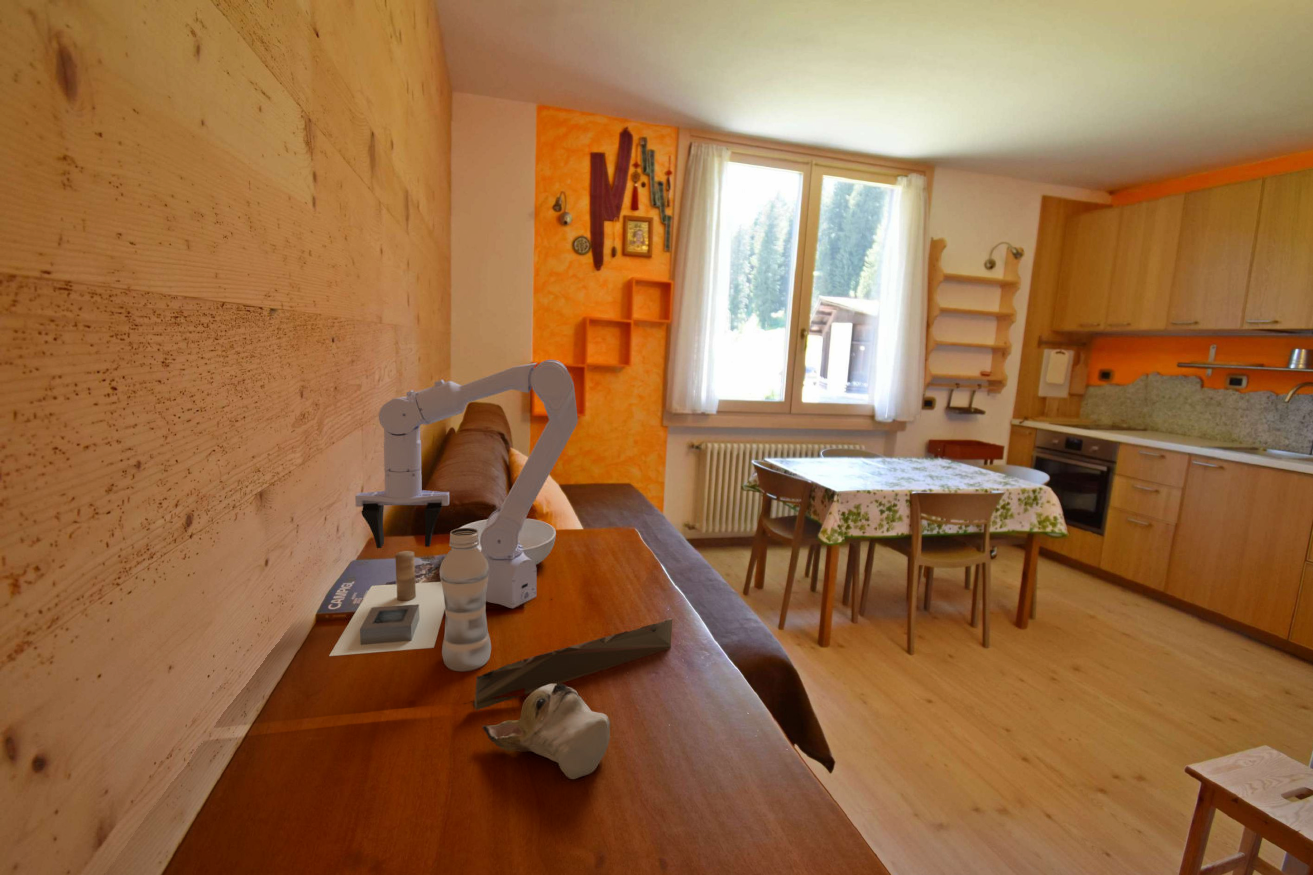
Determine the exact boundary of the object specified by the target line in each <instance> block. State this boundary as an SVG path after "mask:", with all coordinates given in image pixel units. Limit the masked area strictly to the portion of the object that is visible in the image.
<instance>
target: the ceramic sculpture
mask: <svg viewBox="0 0 1313 875" xmlns="http://www.w3.org/2000/svg"><path fill="white" fill-rule="evenodd" d="M481 727H482V729H483V731H484V732H485V734H486V735H487V737H488V739H489V740H490V741H491V742H492V743H493V744H494V745H496V746H497V747H498V748H500V749H502V750H504V751H509V752H533V753H534V754H537V755H539V756H542V757H544V758H546V759H547V758H548V759H549V760H551V761H553V762H556V763H557V764H558V766H559V769H560V770H561V772H563V774H564V775H565V776H566V777H567V778H568V779H571V780H575V779H578V778H581V777H585V776H588V775H590V774H592V773H593V772H594V771H595V770H596V769H597V768H598V765H599V764H600V762H601V761H602V759H603V758H604V757H605V753H606V751H607V749H608V747H609V742H610V739H611V738H610V737H611V734H610V733H611V732H610V731H611V730H610V729H611V728H610V727H611V722H610V719H609V717H608V715H607V714H605V713H603V712H597V711H593V710H591V708H590V707H589V706H588V705H587V704H586V702H585V701H584V699H583V698H582V697H581V696H580V695H579V693H578V692H577V690H576V689H574V688H573V687H571V686H570V687H569V686H567V685H566V684H563V683H560V684H548V685H546V686H543V687H540V688H539V689H537V690H535V691H534V692H531V693H529V694H528V696H527V697H526V699H524V701H523V703H522V706H521V711H520V716H519V719H517V720H510V719H508V720H505V721H502V722H500V723H498V724H493V725H492V724H491V725H488V724H485V725H482V726H481Z"/></svg>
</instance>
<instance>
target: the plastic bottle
mask: <svg viewBox="0 0 1313 875" xmlns="http://www.w3.org/2000/svg"><path fill="white" fill-rule="evenodd" d="M448 545H449V547H450V548H451V549H450V550H449V551H448V553H447V554H446V555H445V556H444V558H443V560H442V561H441V563H440V567H439V578H440V582H441V584H442V589H443V594H444V603H445V610H444V614H445V618H444V619H445V622H444V623H445V624H444V637H443V641H442V649H441V656H442V660H443V664H444V665H445V666H446V667H447V668H448V669H449V670H451V671H453V672H454V671H455V672H471V671H475V670H478V669H479V668H482V667H483V666H485V665H486V664H487V663H488V662H489V660H490V658H491V651H492V643H491V638H490V634H489V631H488V621H487V612H486V609H487V608H486V607H487V605H486V604H487V601H486V590H487V582H488V574H489V565H488V562H487V560H486V558H485V557H484V555H483V554H482V552H481V551H480V550H479V549H478V548H477V546H478V545H479V539H478V530H477V529H474V528H460V527H458V528H455V529H453V530H451V531H450V533H449V544H448Z"/></svg>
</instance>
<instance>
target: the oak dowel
mask: <svg viewBox="0 0 1313 875" xmlns="http://www.w3.org/2000/svg"><path fill="white" fill-rule="evenodd" d="M394 556H395V580H396V584H397V600H398V601H410V600H413V599H414V598H415V597H416V588H415V583H416V566H415V563H416V561H415V560H416V559H415V552H414V551H412V550H404V551H399V552H396V553H395V554H394Z"/></svg>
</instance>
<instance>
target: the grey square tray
mask: <svg viewBox="0 0 1313 875" xmlns="http://www.w3.org/2000/svg"><path fill="white" fill-rule="evenodd" d="M419 619H420V618H419V604H417V605H402V606H387V607H372V608H371V610H370V612H369V613H368V615H367V617H366V619H365V621H364V622H363V624H362V626H361V628H360V642H361V645H364V644H377V643H390V642H402V641H412V638H413V635H414V633H415V630H416V627H417V624H418V622H419Z"/></svg>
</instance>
